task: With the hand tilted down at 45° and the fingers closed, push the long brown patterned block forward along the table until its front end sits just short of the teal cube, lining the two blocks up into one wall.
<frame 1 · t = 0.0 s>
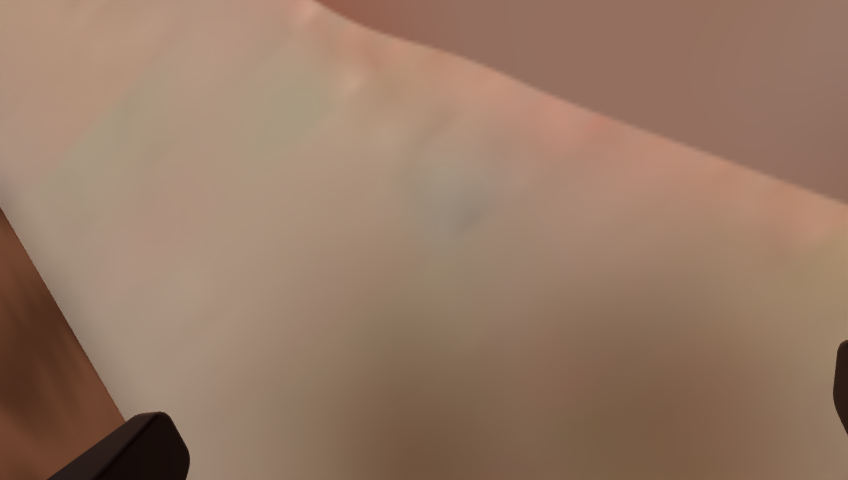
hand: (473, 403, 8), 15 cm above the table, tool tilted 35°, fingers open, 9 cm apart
brown patterned block: (39, 373, 27), on the table
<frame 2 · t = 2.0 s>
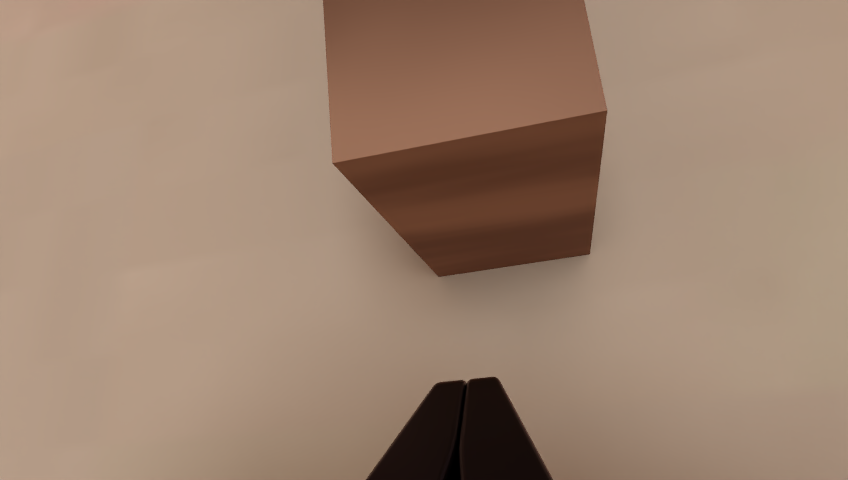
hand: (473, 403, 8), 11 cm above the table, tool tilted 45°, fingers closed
brown patterned block: (479, 36, 23), on the table
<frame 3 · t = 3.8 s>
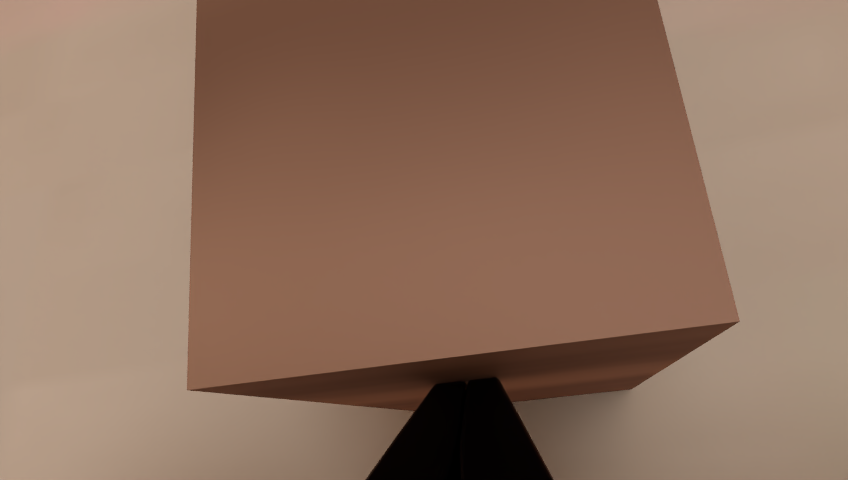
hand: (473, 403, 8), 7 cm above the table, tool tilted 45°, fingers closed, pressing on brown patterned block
brown patterned block: (478, 78, 18), on the table, touching gripper
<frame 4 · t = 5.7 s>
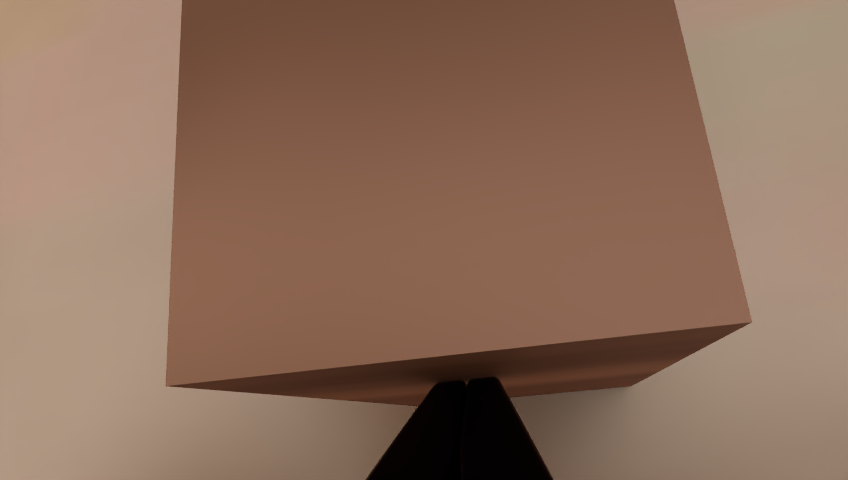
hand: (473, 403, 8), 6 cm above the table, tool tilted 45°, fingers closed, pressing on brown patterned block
brown patterned block: (480, 66, 17), on the table, touching gripper
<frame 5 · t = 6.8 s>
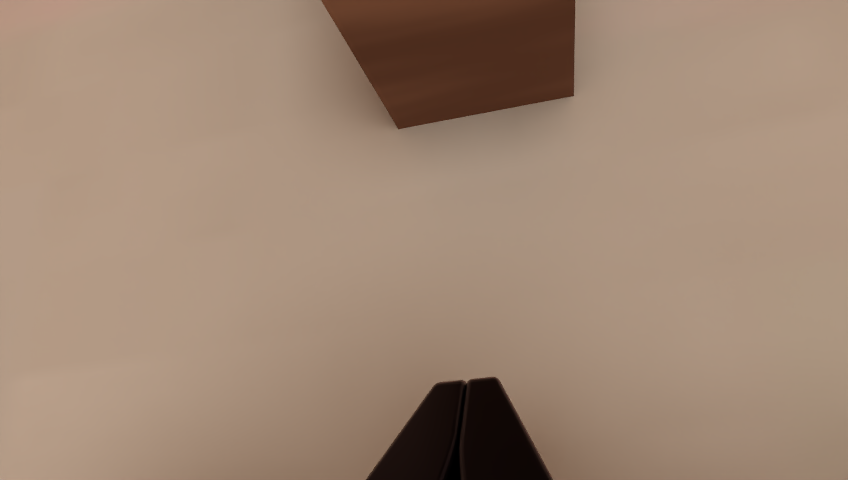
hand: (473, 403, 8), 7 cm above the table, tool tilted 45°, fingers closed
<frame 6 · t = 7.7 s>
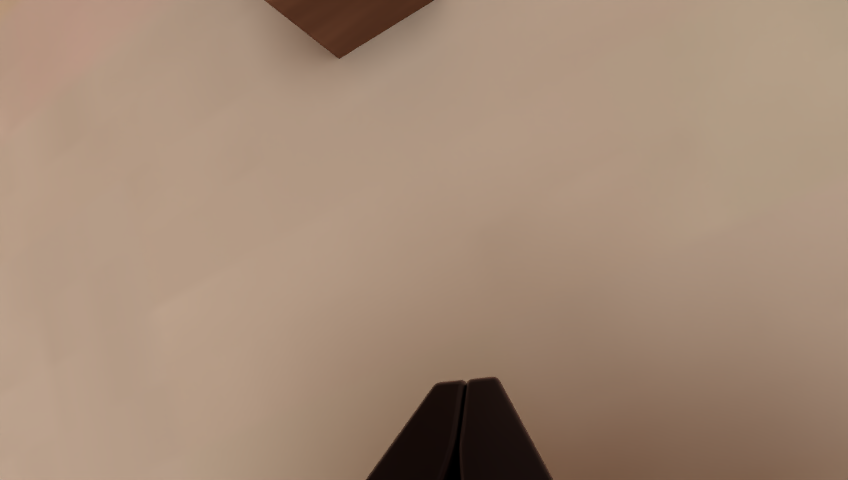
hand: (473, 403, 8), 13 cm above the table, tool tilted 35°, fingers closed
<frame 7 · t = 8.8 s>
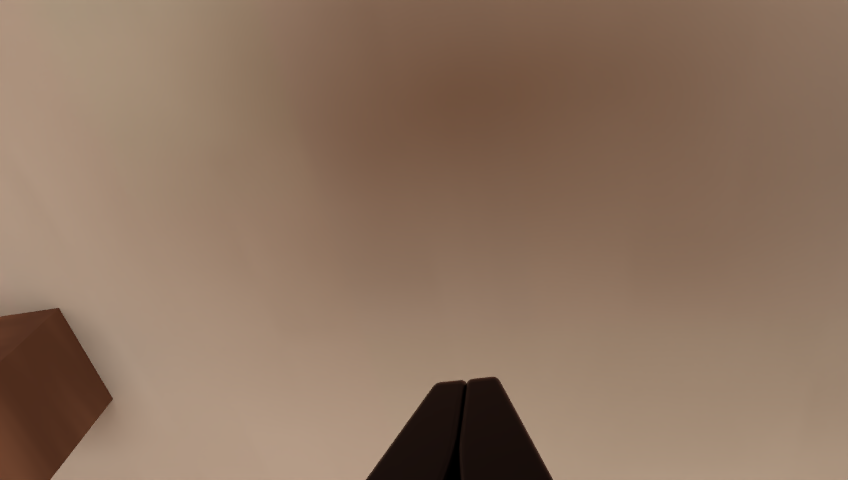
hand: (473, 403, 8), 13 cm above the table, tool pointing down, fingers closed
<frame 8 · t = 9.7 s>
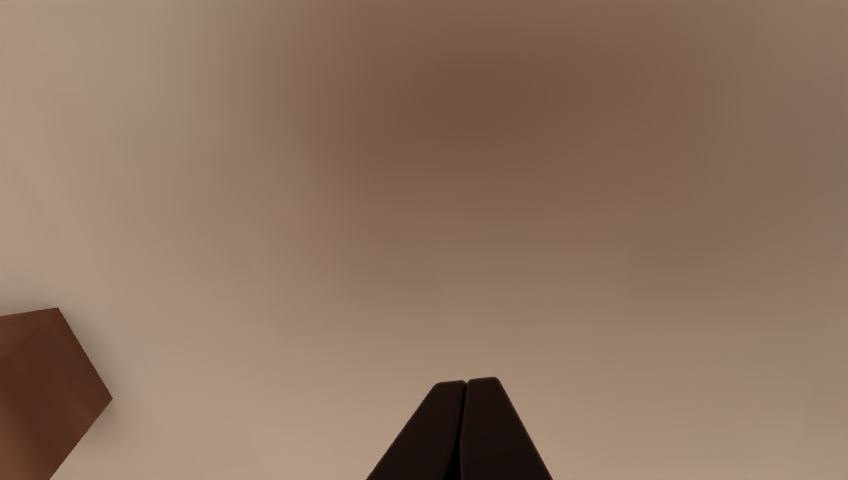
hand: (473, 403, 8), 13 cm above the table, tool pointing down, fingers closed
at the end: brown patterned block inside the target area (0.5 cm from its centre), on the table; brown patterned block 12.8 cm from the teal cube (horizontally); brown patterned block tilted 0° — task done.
